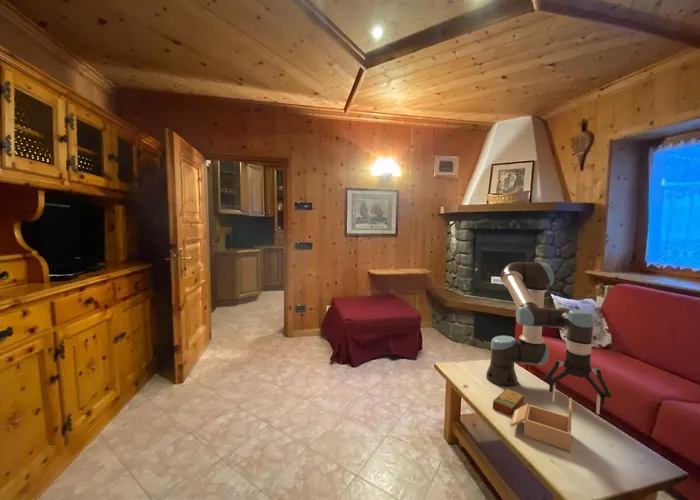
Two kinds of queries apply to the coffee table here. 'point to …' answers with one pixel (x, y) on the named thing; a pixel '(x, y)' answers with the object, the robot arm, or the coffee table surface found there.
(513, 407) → the carton
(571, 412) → the flap
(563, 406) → the coffee table surface
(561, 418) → the shipping box
